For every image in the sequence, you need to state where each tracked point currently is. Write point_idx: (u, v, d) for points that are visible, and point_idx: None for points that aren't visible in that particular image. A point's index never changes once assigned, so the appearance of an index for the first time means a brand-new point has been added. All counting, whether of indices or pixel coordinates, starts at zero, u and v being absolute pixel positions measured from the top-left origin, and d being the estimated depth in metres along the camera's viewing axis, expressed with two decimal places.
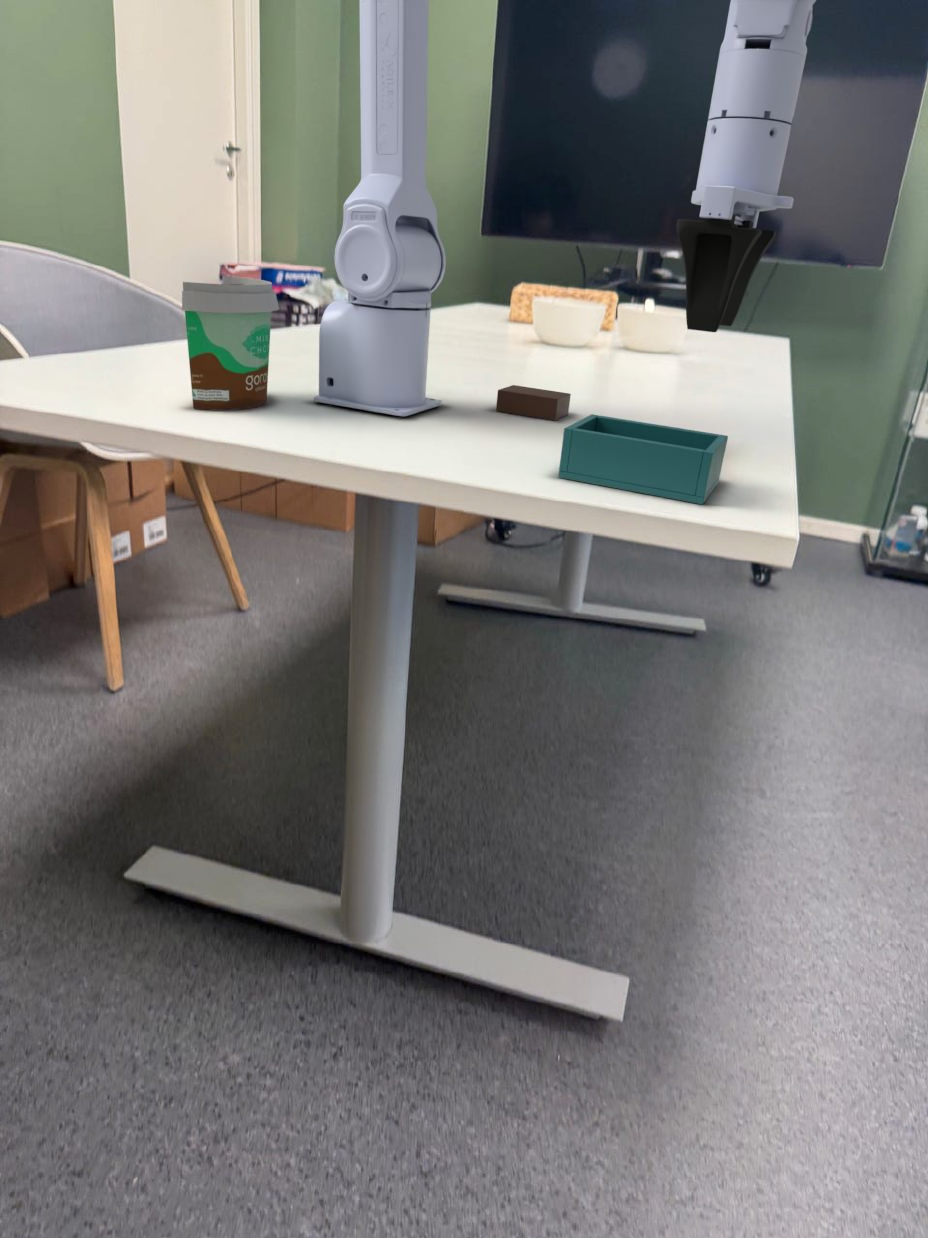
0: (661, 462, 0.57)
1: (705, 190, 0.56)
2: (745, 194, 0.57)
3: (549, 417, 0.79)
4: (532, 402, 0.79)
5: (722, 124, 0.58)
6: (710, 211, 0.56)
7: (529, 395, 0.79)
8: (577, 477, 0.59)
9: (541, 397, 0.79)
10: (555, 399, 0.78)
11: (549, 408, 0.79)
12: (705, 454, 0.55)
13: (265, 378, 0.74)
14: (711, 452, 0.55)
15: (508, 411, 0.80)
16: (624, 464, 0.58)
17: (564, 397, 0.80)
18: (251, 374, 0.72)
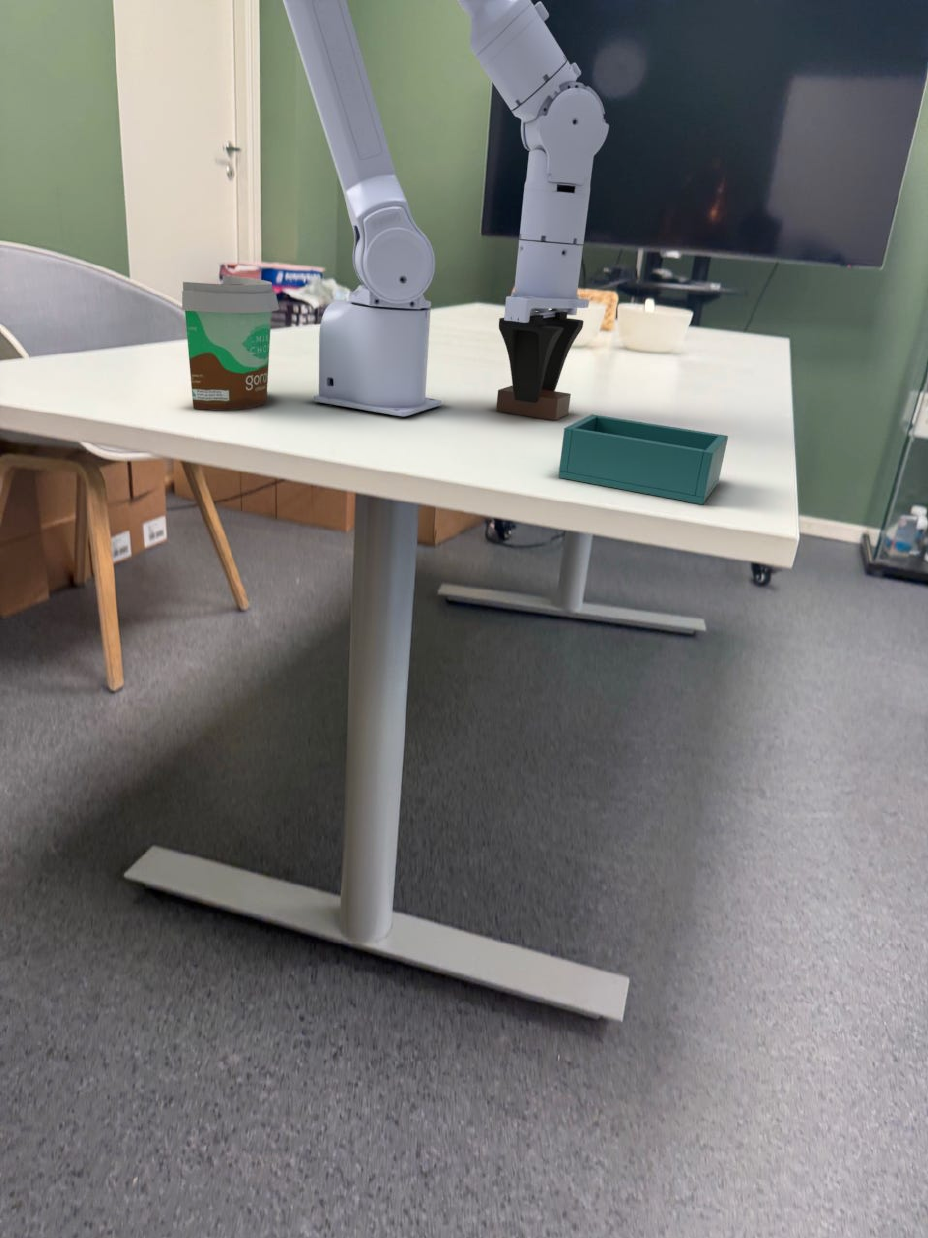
0: (661, 462, 0.57)
1: (506, 300, 0.72)
2: (541, 302, 0.73)
3: (549, 417, 0.79)
4: None
5: (526, 245, 0.74)
6: (511, 316, 0.72)
7: None
8: (577, 477, 0.59)
9: (541, 397, 0.79)
10: (555, 399, 0.78)
11: (550, 408, 0.79)
12: (705, 454, 0.55)
13: (265, 378, 0.74)
14: (711, 452, 0.55)
15: (508, 411, 0.80)
16: (624, 464, 0.58)
17: (564, 397, 0.80)
18: (251, 374, 0.72)
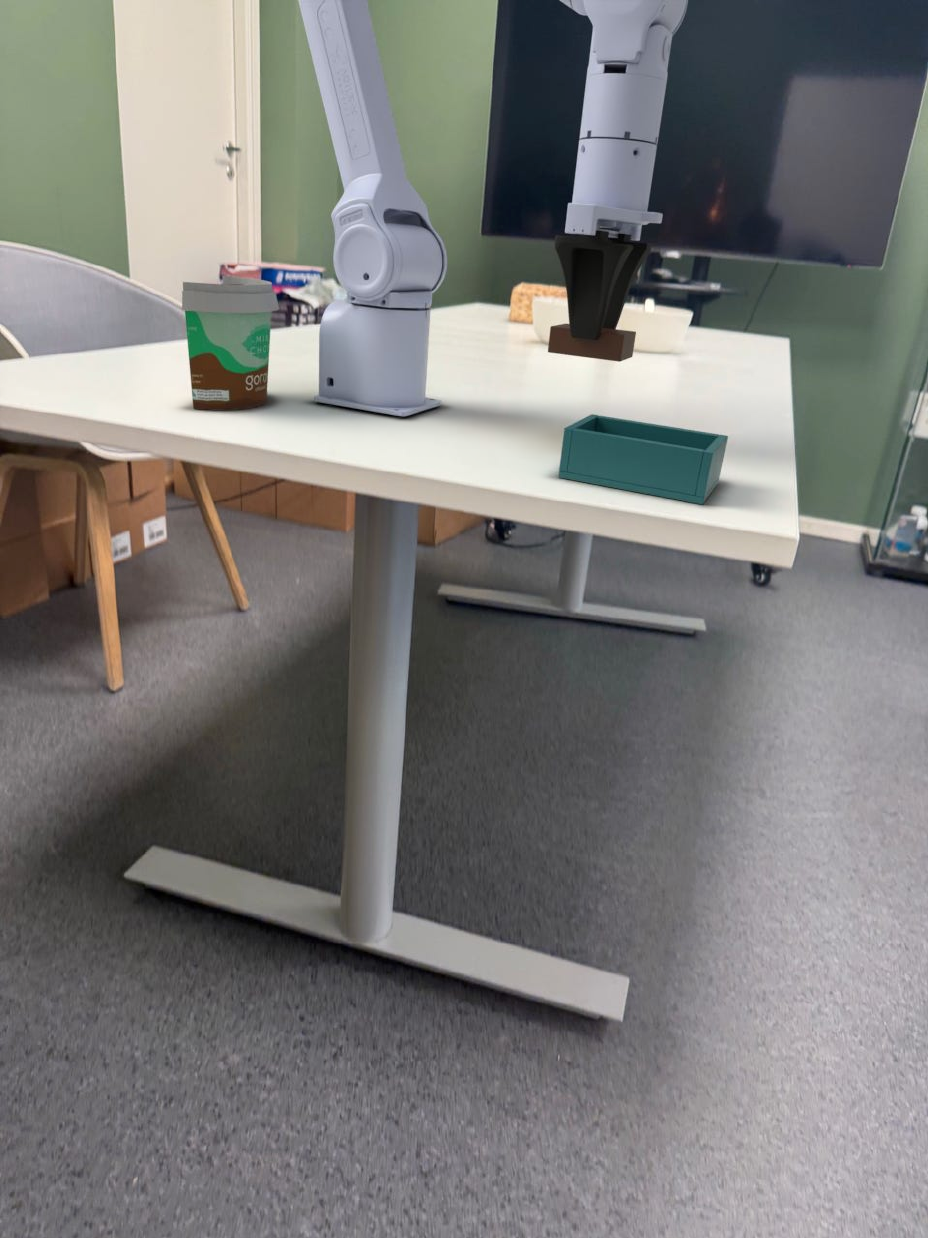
0: (661, 462, 0.57)
1: (568, 207, 0.59)
2: (609, 211, 0.60)
3: (613, 358, 0.66)
4: (592, 340, 0.66)
5: (589, 144, 0.61)
6: (574, 227, 0.59)
7: None
8: (577, 477, 0.59)
9: (604, 333, 0.66)
10: (621, 335, 0.65)
11: (614, 347, 0.66)
12: (705, 454, 0.55)
13: (265, 378, 0.74)
14: (711, 452, 0.55)
15: (563, 352, 0.67)
16: (624, 464, 0.58)
17: (630, 334, 0.67)
18: (251, 374, 0.72)
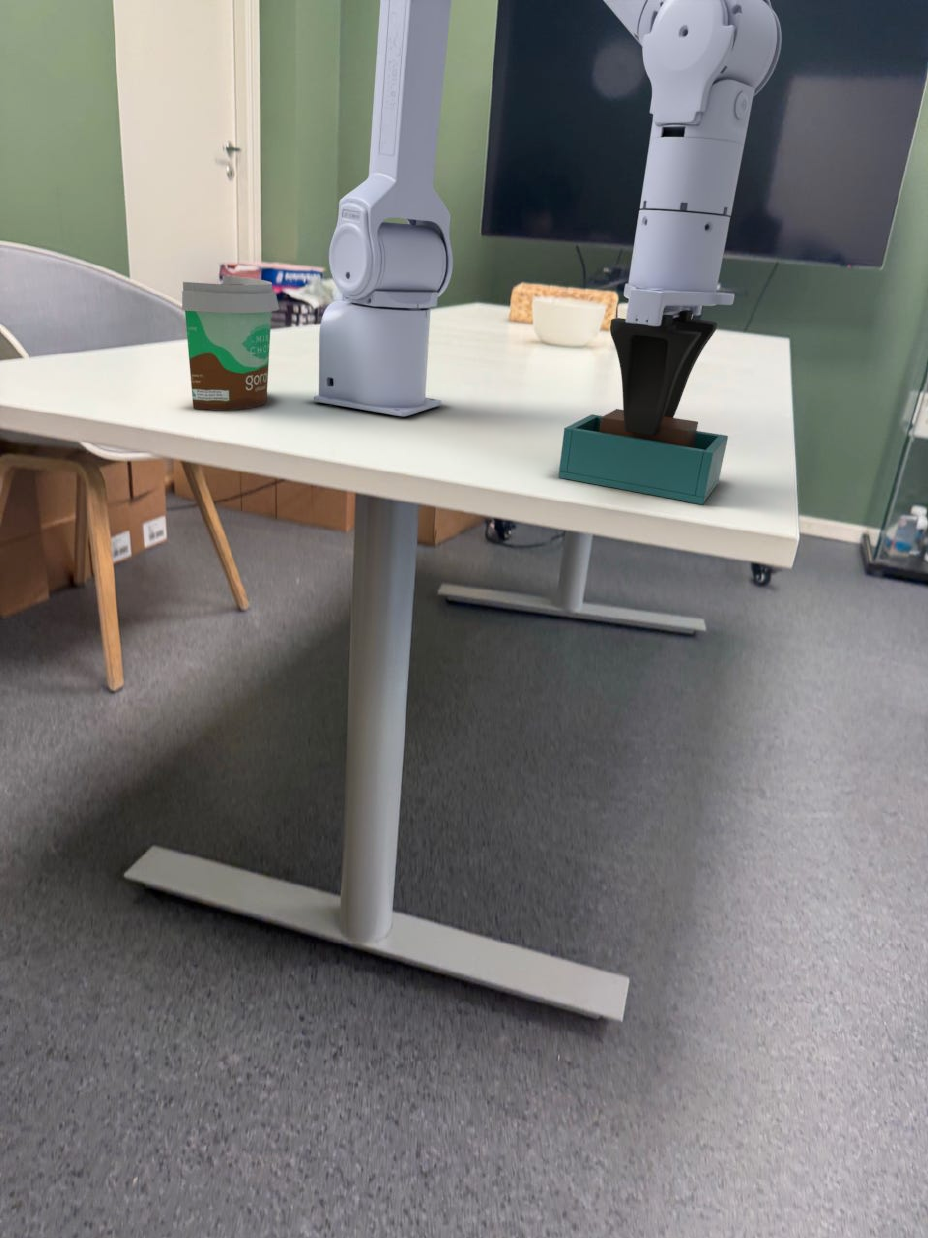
0: (661, 462, 0.57)
1: (631, 294, 0.50)
2: (677, 297, 0.51)
3: None
4: (650, 435, 0.58)
5: (653, 216, 0.53)
6: (637, 317, 0.50)
7: None
8: (577, 477, 0.59)
9: (664, 428, 0.57)
10: (684, 431, 0.57)
11: (675, 444, 0.57)
12: (705, 454, 0.55)
13: (265, 378, 0.74)
14: (711, 452, 0.55)
15: None
16: (624, 464, 0.58)
17: (693, 427, 0.58)
18: (251, 374, 0.72)
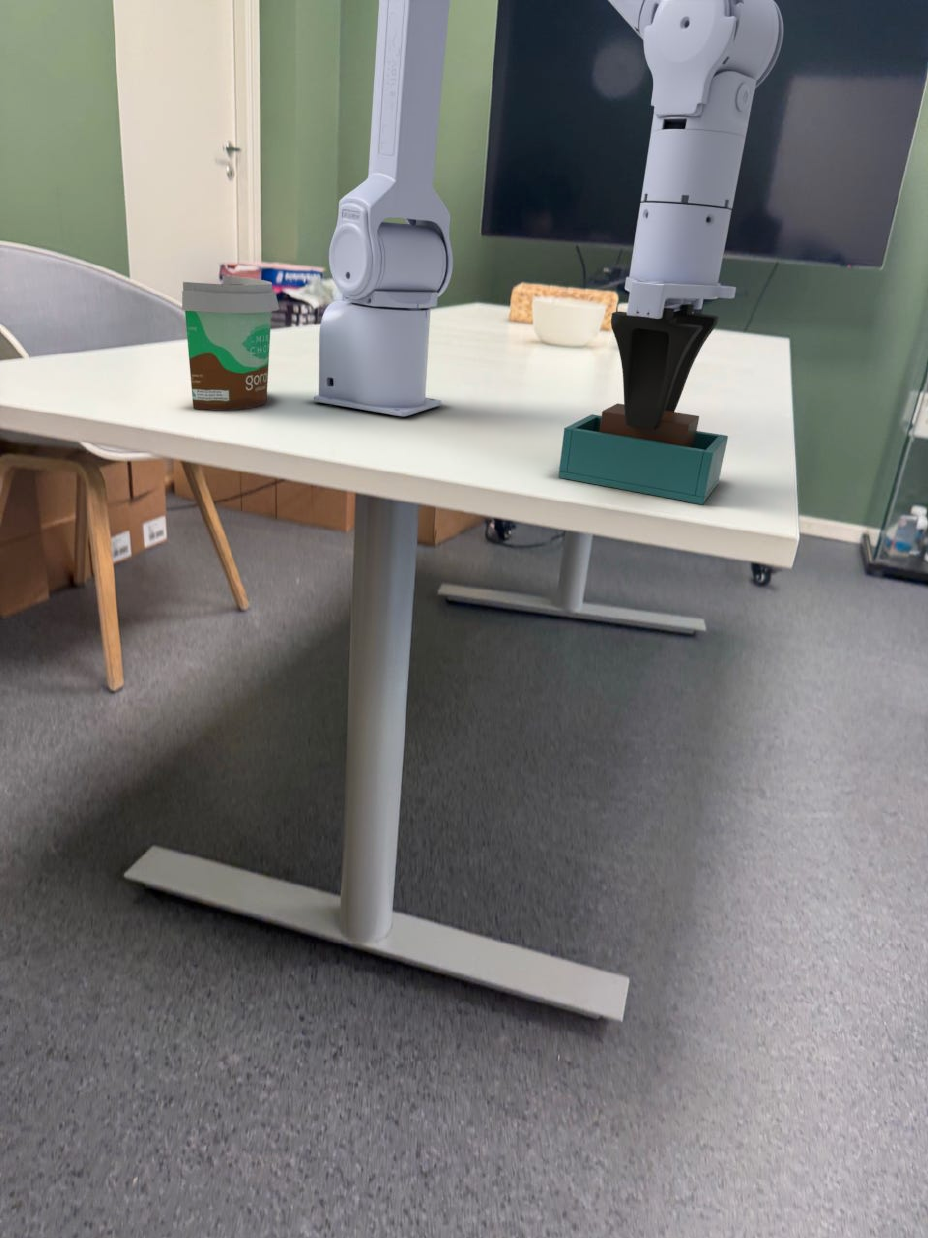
0: (661, 462, 0.57)
1: (632, 287, 0.50)
2: (678, 289, 0.51)
3: None
4: (651, 429, 0.58)
5: (654, 209, 0.52)
6: (638, 309, 0.50)
7: None
8: (577, 477, 0.59)
9: (665, 422, 0.57)
10: (685, 425, 0.57)
11: (676, 438, 0.57)
12: (705, 454, 0.55)
13: (265, 378, 0.74)
14: (711, 452, 0.55)
15: None
16: (624, 464, 0.58)
17: (694, 421, 0.58)
18: (251, 374, 0.72)
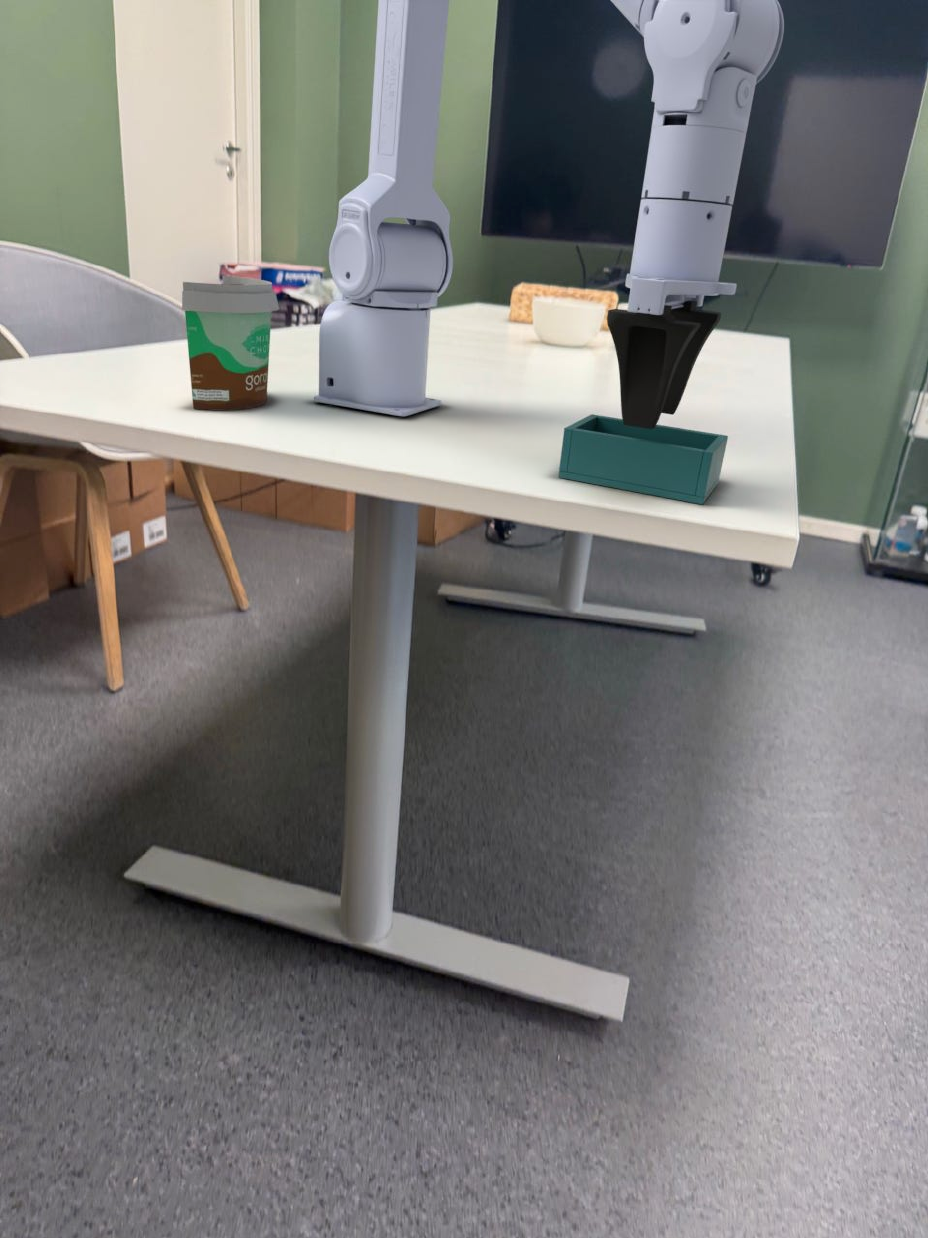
0: (661, 462, 0.57)
1: (632, 283, 0.50)
2: (679, 286, 0.51)
3: None
4: None
5: (655, 205, 0.52)
6: (638, 306, 0.50)
7: None
8: (577, 477, 0.59)
9: None
10: None
11: None
12: (705, 454, 0.55)
13: (265, 378, 0.74)
14: (711, 452, 0.55)
15: None
16: (624, 464, 0.58)
17: None
18: (251, 374, 0.72)
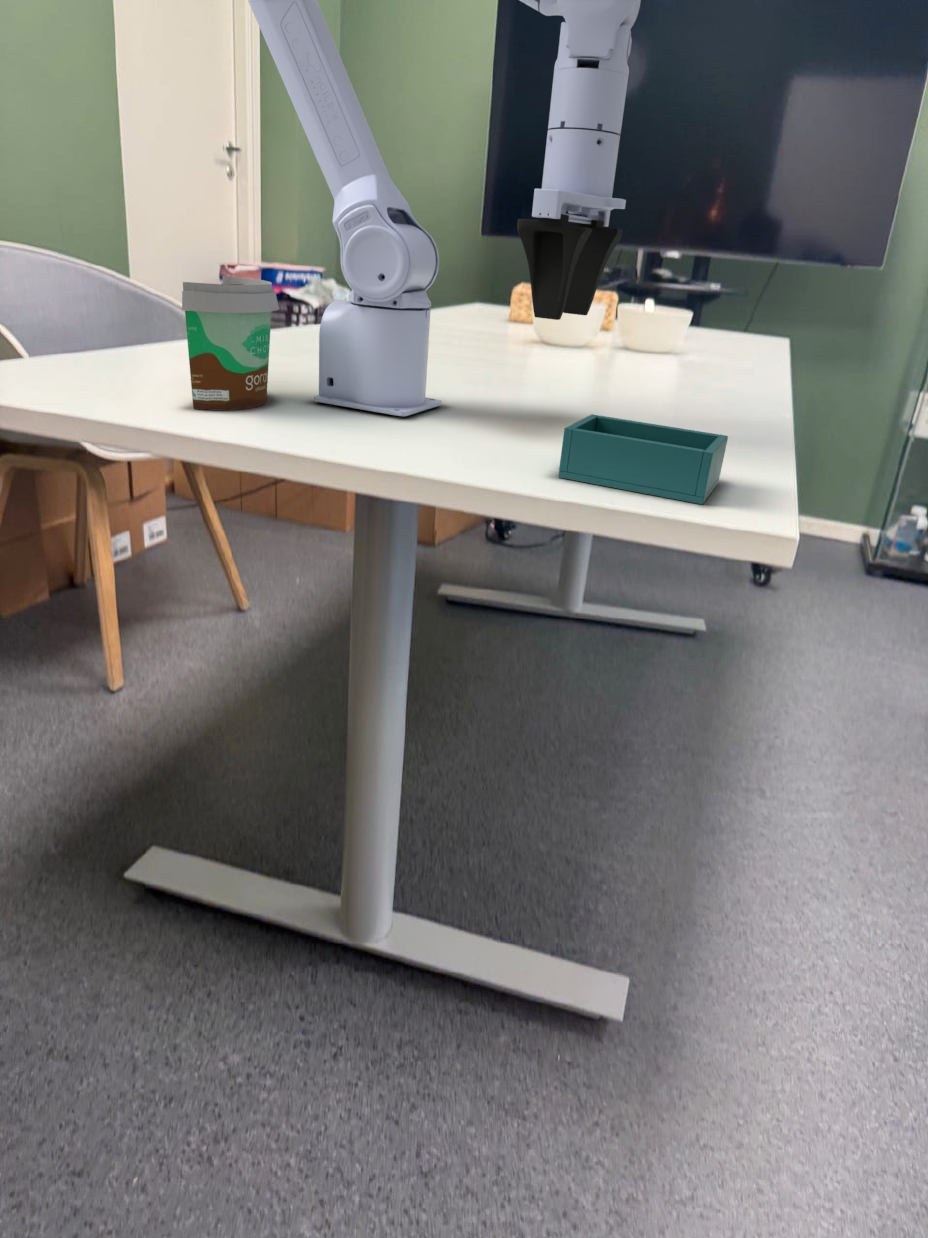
0: (661, 462, 0.57)
1: (535, 193, 0.63)
2: (573, 196, 0.64)
3: None
4: None
5: (556, 134, 0.65)
6: (540, 211, 0.63)
7: None
8: (577, 477, 0.59)
9: None
10: None
11: None
12: (705, 454, 0.55)
13: (265, 378, 0.74)
14: (711, 452, 0.55)
15: None
16: (624, 464, 0.58)
17: None
18: (251, 374, 0.72)
